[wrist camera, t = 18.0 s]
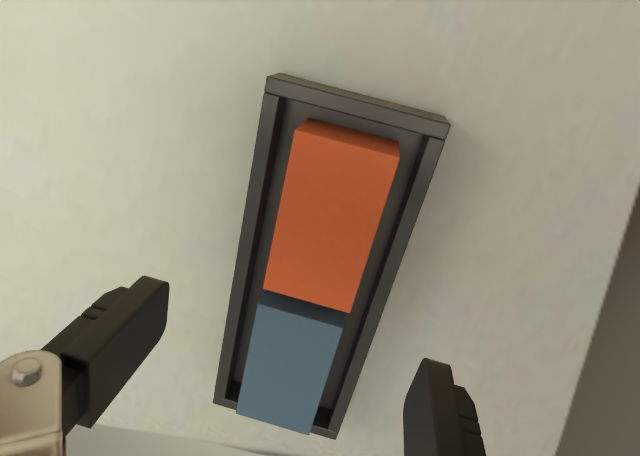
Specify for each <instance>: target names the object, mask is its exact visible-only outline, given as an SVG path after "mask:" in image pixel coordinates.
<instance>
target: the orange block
mask: <svg viewBox="0 0 640 456" xmlns="http://www.w3.org/2000/svg"><path fill="white" fill-rule="evenodd" d="M399 160H400V154H399V142H398V141H395V140H391V139H387V138H384V137H380V136H376V135H372V134H369V133H365V132H361V131H357V130H353V129H350V128H346V127H342V126H338V125H335V124H331V123H327V122H323V121H319V120H316V119H312V118H308V119H306V120H305V121H304V122H303V123H302V124H301V125H300V126H299V127H298V128H297V129H296V130H295V132H294V136H293V141H292V146H291V151H290V156H289V161H288V166H287V171H286V176H285V181H284V186H283V191H282V196H281V201H280V206H279V211H278V216H277V221H276V226H275V230H274V235H273V240H272V245H271V250H270V255H269V260H268V265H267V270H266V275H265V280H264V285H263V289H266V290H269V291H273V292H276V293H280V294H283V295H287V296H290V297H294V298H297V299H301V300H304V301H308V302H311V303H315V304H318V305H322V306H325V307H329V308H332V309H336V310H340V311H343V312H347V313H350V312H351V309H352V306H353V303H354V300H355V297H356V294H357V291H358V288H359V284H360V281H361V278H362V275H363V272H364V269H365V266H366V263H367V260H368V256H369V253H370V250H371V247H372V244H373V241H374V238H375V235H376V232H377V229H378V225H379V222H380V219H381V216H382V213H383V210H384V207H385V204H386V201H387V197H388V194H389V191H390V188H391V185H392V182H393V179H394V176H395V173H396V170H397V166H398V163H399Z"/></svg>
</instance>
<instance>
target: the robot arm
mask: <svg viewBox="0 0 640 456" xmlns="http://www.w3.org/2000/svg"><path fill="white" fill-rule="evenodd" d="M168 299H169V283H168V282H165V281H162V280H158V279H155V278H151V277H148V276H142V277H141V278H139V279H138V280H137V281H136V282H135V283H134V284H133V285H132V286H131V287H130V288H129V289H128V288H125V287H119V288H117V289H114V290H112V291H110V292H107V293H105V294H104V295H102V296H101V297H100V298H99V299H98V300H97V301H96V302H94V303H93V304H92V306H91V307H89V308H88V309H86V310H85V311H84V312H83V313H82V315H81V316H78V317H77V318H76V319H75V320H74V321H73V322H72V323H70V324H69V325H68V326H67V327H66V328H65V329H64V330H62V331H61V332H60V333H59V334H58V335H57V336H56V337H54V338H53V339H52V340H51V341H50V342H49V343H48V344H47V345H45V346H44V347H43V348H42V349H41V350H32V351H25V352H21V353H18V354H15V355H13V356H10V357H9V358H7V359H5V360H3V361H2V362H1V363H0V456H66V435H67V434H68V433H69V432H70V431H71V429H72V428H73V427H74V426H75V425H76V424H78V425H81V426H84V427H87V428H91V427H92V426H93V425H94V424H95V422H96V421H97V420H98V418H99V417H100V416H101V415H102V413H103V412H104V411H105V410H106V408H107V407H108V406H109V404H110V403H111V402H112V401H113V399H114V398H115V397H116V395H117V394H118V393H119V392H120V390H121V389H122V388H123V386H124V385H125V384H126V383H127V381H128V380H129V379H130V377H131V376H132V375H133V374H134V372H135V371H136V370H137V368H138V367H139V366H140V365H141V363H142V362H143V361H144V359H145V358H146V357H147V356H148V354H149V353H150V352H151V350H152V349H153V348H154V347H155V345H156V344H157V343H158V341H159V340H160V338H161V337H162V335H163V332H164V330H165V327H166V322H167V311H168ZM403 426H404V456H486V453H485V448H484V444H483V439H482V437H481V431H480V426H479V423H478V417H477V413H476V408H475V404H474V402H473V401H472V399H471V397H470V396H469V394H468V393H467V391H466V390H465V388H464V387H460V386H457V385H454V381H453V375H452V370H451V366H450V365H448V364H445V363H441V362H438V361H435V360H431V359H428V358H424V359H423V360H422V362H421V364H420V366H419V368H418V370H417V373H416V375H415V377H414V379H413V382H412V384H411V386H410V388H409V391H408V393H407V396H406V399H405V404H404V410H403Z"/></svg>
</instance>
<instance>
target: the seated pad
mask: <svg viewBox="0 0 640 456" xmlns="http://www.w3.org/2000/svg"><path fill="white" fill-rule="evenodd" d="M345 315H346V312H343V311H340V310H336V309H332V308H329V307H325V306H322V305H318V304H315V303H311V302H308V301H304V300H301V299H297V298H294V297H290V296H287V295H283V294H280V293H276V292H273V291H269V290H266V289H265V291H264V293H263V295H262V297H261V299H260V300H259V302H258V305H257V310H256V315H255V320H254V325H253V330H252V335H251V340H250V345H249V350H248V355H247V360H246V364H245V369H244V374H243V379H242V384H241V389H240V394H239V399H238V404H237V409H236V414H239V415H243V416H246V417H249V418H253V419H256V420H259V421H263V422H266V423H269V424H273V425H276V426H279V427H283V428H286V429H289V430H293V431H296V432H299V433H303V434H306V435H309V434H310V431H311V427H312V424H313V421H314V418H315V415H316V412H317V409H318V406H319V403H320V400H321V396H322V393H323V390H324V387H325V384H326V381H327V378H328V375H329V372H330V368H331V365H332V362H333V359H334V356H335V353H336V350H337V347H338V344H339V341H340V337H341V334H342V331H343V328H344V321H345Z"/></svg>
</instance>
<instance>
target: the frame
mask: <svg viewBox="0 0 640 456" xmlns="http://www.w3.org/2000/svg"><path fill="white" fill-rule="evenodd" d="M308 118H312V119H316V120H319V121H323V122H327V123H331V124H335V125H338V126H342V127H346V128H350V129H353V130H357V131H361V132H365V133H369V134H372V135H376V136H380V137H384V138H387V139H391V140H395V141H398V142H399V154H400V160H399V163H398V166H397V170H396V173H395V176H394V179H393V182H392V185H391V188H390V191H389V194H388V197H387V201H386V204H385V207H384V210H383V213H382V216H381V219H380V222H379V225H378V229H377V232H376V235H375V238H374V241H373V244H372V247H371V250H370V253H369V256H368V260H367V263H366V266H365V269H364V272H363V275H362V278H361V281H360V284H359V288H358V291H357V294H356V297H355V300H354V303H353V306H352V309H351V312H350V313H347V312H346V315H345V321H344V328H343V331H342V334H341V337H340V341H339V344H338V347H337V350H336V353H335V356H334V359H333V362H332V365H331V368H330V372H329V375H328V378H327V381H326V384H325V387H324V390H323V393H322V396H321V400H320V403H319V406H318V409H317V412H316V415H315V418H314V421H313V424H312V427H311V431H310V432H311V433H314V434H317V435H321V436H324V437H327V438H331V439H334V440H336V438H337V435H338V432H339V430H340V427H341V424H342V422H343V419H344V416H345V413H346V411H347V408H348V405H349V403H350V400H351V397H352V394H353V392H354V389H355V386H356V383H357V381H358V378H359V375H360V372H361V370H362V367H363V364H364V362H365V359H366V356H367V353H368V351H369V348H370V345H371V342H372V340H373V337H374V334H375V332H376V329H377V326H378V323H379V321H380V318H381V315H382V312H383V310H384V307H385V304H386V301H387V299H388V296H389V293H390V291H391V288H392V285H393V282H394V280H395V277H396V274H397V271H398V269H399V266H400V263H401V260H402V258H403V255H404V252H405V250H406V247H407V244H408V241H409V239H410V236H411V233H412V230H413V228H414V225H415V222H416V219H417V217H418V214H419V211H420V209H421V206H422V203H423V200H424V198H425V195H426V192H427V189H428V187H429V184H430V181H431V178H432V176H433V173H434V170H435V168H436V165H437V162H438V159H439V157H440V154H441V151H442V148H443V146H444V143H445V139H446V137H447V134H448V132H449V129H450V126H451V124H450V123H449V122H448V120H447V119H446V118H445V117H444V116H441V115H438V114H434V113H430V112H426V111H422V110H419V109H415V108H411V107H407V106H403V105H400V104H396V103H392V102H388V101H384V100H381V99H377V98H373V97H369V96H365V95H362V94H358V93H354V92H350V91H346V90H343V89H339V88H335V87H331V86H327V85H324V84H320V83H316V82H312V81H308V80H305V79H301V78H297V77H293V76H289V75H285V74H282V73H277V74H274V75H270V76H267V79H266V85H265V93H264V96H263V102H262V108H261V114H260V120H259V126H258V132H257V138H256V144H255V150H254V156H253V162H252V168H251V174H250V180H249V186H248V192H247V199H246V205H245V211H244V217H243V223H242V229H241V235H240V241H239V247H238V253H237V259H236V265H235V271H234V277H233V283H232V289H231V295H230V301H229V307H228V313H227V319H226V326H225V332H224V338H223V344H222V350H221V356H220V362H219V368H218V374H217V380H216V386H215V392H214V399H213V403H214V404H217V405H221V406H224V407H227V408H231V409H234V410H236V409H237V404H238V399H239V394H240V389H241V384H242V379H243V374H244V369H245V364H246V360H247V355H248V350H249V345H250V340H251V335H252V330H253V325H254V320H255V315H256V310H257V305H258V302H259V300H260V299H261V297H262V295H263V293H264V291H265V289H263V285H264V280H265V275H266V270H267V265H268V260H269V255H270V250H271V245H272V240H273V235H274V230H275V226H276V221H277V216H278V211H279V206H280V201H281V196H282V191H283V186H284V181H285V176H286V171H287V166H288V161H289V156H290V151H291V146H292V141H293V136H294V132H295V130H296V129H297V128H298V127H299V126H300V125H301V124H302V123H303V122H304V121H305V120H306V119H308Z"/></svg>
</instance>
